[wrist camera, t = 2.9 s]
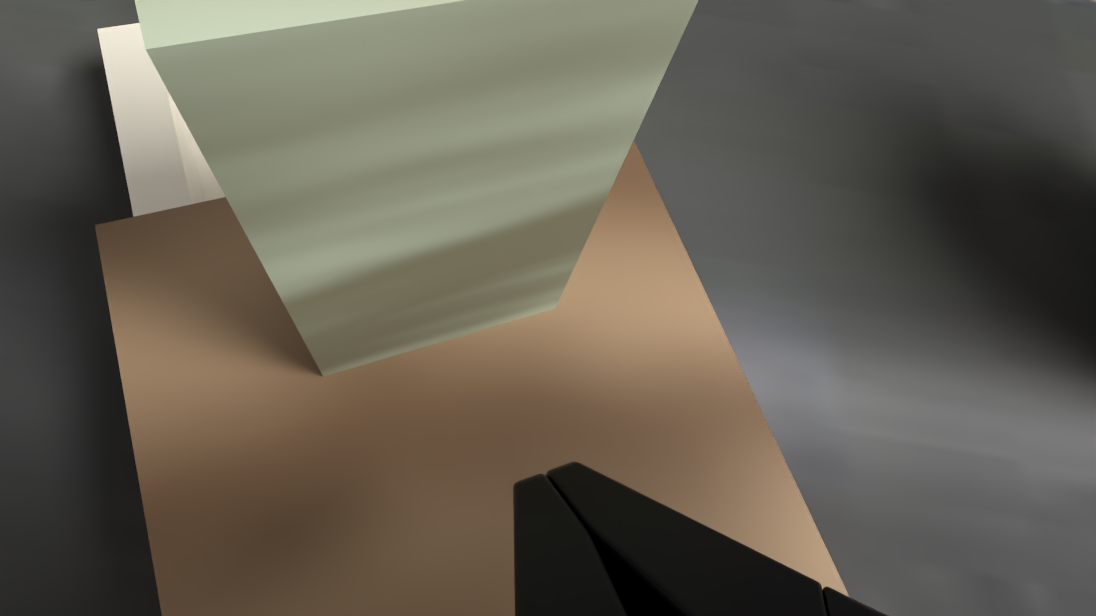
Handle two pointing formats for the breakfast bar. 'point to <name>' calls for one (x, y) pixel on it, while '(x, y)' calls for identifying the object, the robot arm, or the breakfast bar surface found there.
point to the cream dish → (151, 129)
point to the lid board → (422, 424)
